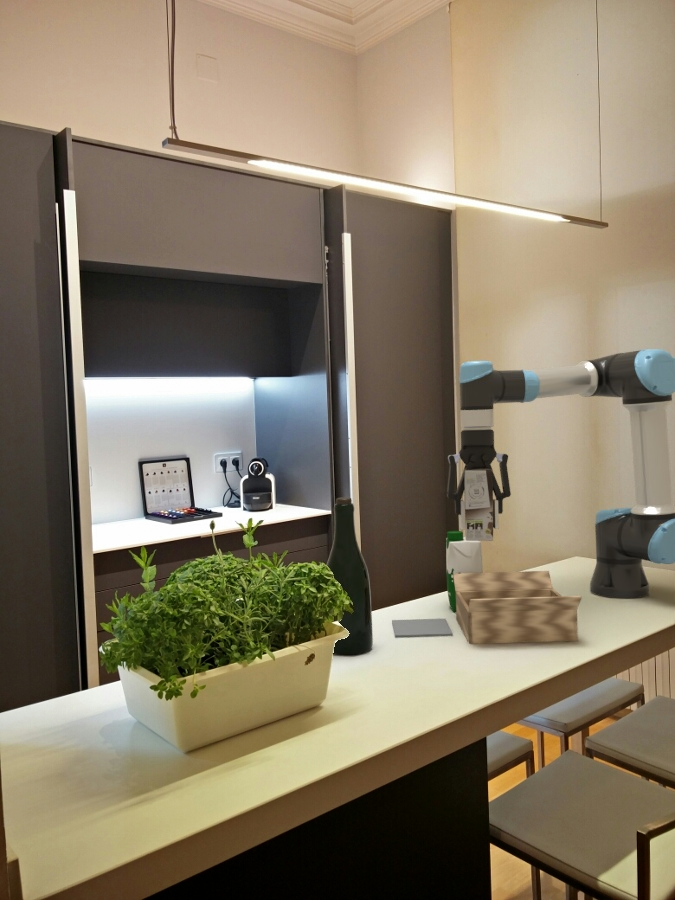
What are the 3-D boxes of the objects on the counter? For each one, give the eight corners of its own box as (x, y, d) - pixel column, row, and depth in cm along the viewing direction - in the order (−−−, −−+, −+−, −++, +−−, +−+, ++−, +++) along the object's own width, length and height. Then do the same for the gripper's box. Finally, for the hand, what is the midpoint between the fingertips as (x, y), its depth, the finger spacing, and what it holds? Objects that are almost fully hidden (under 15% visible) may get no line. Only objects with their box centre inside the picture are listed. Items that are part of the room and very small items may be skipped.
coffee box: (494, 541, 169) (492, 469, 168) (465, 541, 170) (463, 469, 169) (493, 535, 178) (492, 466, 177) (465, 535, 179) (464, 467, 178)
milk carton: (445, 605, 198) (443, 529, 198) (480, 604, 198) (478, 528, 197) (450, 613, 190) (447, 534, 189) (486, 612, 189) (484, 533, 189)
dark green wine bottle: (372, 656, 158) (367, 499, 157) (322, 656, 159) (317, 500, 157) (373, 641, 168) (368, 494, 167) (326, 642, 169) (321, 495, 168)
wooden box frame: (549, 613, 187) (548, 570, 187) (582, 645, 160) (581, 595, 160) (454, 615, 187) (453, 573, 187) (471, 648, 161) (470, 599, 160)
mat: (445, 620, 184) (445, 618, 184) (452, 635, 171) (452, 633, 171) (392, 622, 184) (392, 620, 184) (395, 637, 171) (395, 635, 171)
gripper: (516, 427, 177) (518, 525, 177) (431, 429, 177) (433, 527, 178) (524, 427, 169) (526, 529, 170) (435, 430, 169) (438, 531, 170)
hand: (479, 528), depth 174 cm, fingers closed on coffee box, 7 cm apart
